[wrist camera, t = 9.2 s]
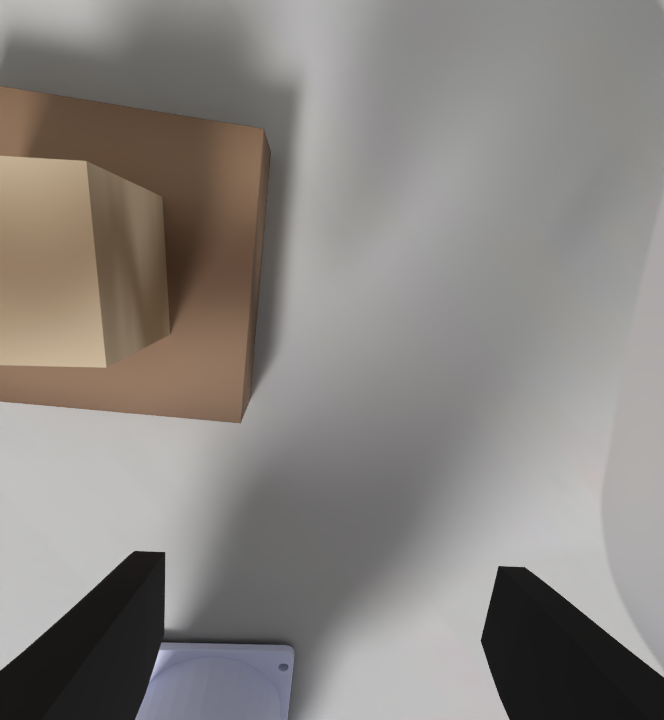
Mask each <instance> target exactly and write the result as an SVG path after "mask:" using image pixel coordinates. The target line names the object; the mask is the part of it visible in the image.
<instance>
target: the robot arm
mask: <svg viewBox="0 0 664 720" xmlns="http://www.w3.org/2000/svg"><path fill="white" fill-rule="evenodd" d="M164 609H165V552H144V551H134V552H133V553H132V554H130V555H129V556H128V557H127V558H126V559H125V560H124V561H123V562H121V563H120V564H119V565H118V566H117V567H116V568H115V569H114V570H113V571H112V572H111V573H110V574H109V575H108V576H106V577H105V578H104V579H103V580H102V581H101V582H100V583H99V584H98V585H97V586H96V587H95V588H94V589H93V590H91V591H90V592H89V593H88V594H87V595H86V596H85V597H84V598H83V599H82V600H81V601H80V602H78V603H77V604H76V605H75V606H74V607H73V608H72V609H71V610H70V611H69V612H67V613H66V614H65V615H64V616H63V617H62V618H61V619H60V620H58V621H57V622H56V623H55V624H54V625H53V626H52V627H51V628H49V629H48V630H47V631H46V632H45V633H44V634H43V635H42V636H40V637H39V638H38V639H37V640H36V641H35V642H34V643H33V644H31V645H30V646H29V647H28V648H27V649H26V650H24V651H23V652H22V653H21V654H20V655H19V656H17V657H16V658H15V659H14V660H13V661H11V662H10V663H9V664H8V665H7V666H5V667H4V668H3V669H2V670H1V671H0V720H288V711H289V702H290V693H291V683H292V674H293V665H294V650H293V648H292V647H290V646H288V645H258V644H211V643H164V642H162V639H163V636H164ZM481 643H482V646H483V649H484V652H485V655H486V658H487V661H488V665H489V668H490V671H491V674H492V676H493V679H494V682H495V685H496V688H497V691H498V694H499V696H500V699H501V701H502V703H503V706H504V708H505V710H506V713H507V715H508V717H509V719H510V720H664V677H662V676H661V675H660V674H659V673H657V672H656V671H655V670H653V669H652V668H651V667H650V666H648V665H647V664H646V663H644V662H643V661H642V660H641V659H639V658H638V657H637V656H636V655H634V654H633V653H632V652H630V651H629V650H628V649H627V648H625V647H624V646H623V645H622V644H620V643H619V642H618V641H617V640H615V639H614V638H613V637H612V636H610V635H609V634H608V633H607V632H605V631H604V630H603V629H602V628H601V627H599V626H598V625H597V624H596V623H594V622H593V621H592V620H591V619H589V618H588V617H587V616H586V615H585V614H583V613H582V612H581V611H580V610H578V609H577V608H576V607H575V606H573V605H572V604H571V603H570V602H569V601H567V600H566V599H565V598H564V597H562V596H561V595H560V594H559V593H557V592H556V591H555V590H554V589H552V588H551V587H550V586H549V585H547V584H546V583H545V582H544V581H542V580H541V579H540V578H538V577H537V576H536V575H534V574H533V573H532V572H530V571H529V570H528V569H526V568H525V567H504V566H499V567H498V571H497V576H496V580H495V584H494V588H493V592H492V596H491V600H490V605H489V609H488V613H487V617H486V621H485V625H484V630H483V634H482V638H481ZM283 663H285V664H283Z"/></svg>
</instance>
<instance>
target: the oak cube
mask: <svg viewBox="0 0 664 720" xmlns="http://www.w3.org/2000/svg"><path fill="white" fill-rule="evenodd" d="M168 335H170V322H169V304H168V286H167V269H166V251H165V233H164V215H163V197H162V196H160V195H158V194H156V193H154V192H151V191H149V190H147V189H145V188H143V187H141V186H139V185H136V184H134V183H132V182H130V181H128V180H126V179H124V178H122V177H119V176H117V175H115V174H113V173H111V172H109V171H107V170H104V169H102V168H100V167H98V166H96V165H94V164H92V163H90V162H87V161H79V160H62V159H45V158H29V157H12V156H0V365H14V366H56V367H99V368H107V367H109V366H111V365H112V364H114V363H116V362H118V361H120V360H122V359H124V358H126V357H128V356H130V355H132V354H134V353H136V352H138V351H139V350H141V349H143V348H145V347H147V346H149V345H151V344H153V343H155V342H157V341H159V340H161V339H163V338H164V337H166V336H168Z"/></svg>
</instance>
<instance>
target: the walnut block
mask: <svg viewBox="0 0 664 720" xmlns="http://www.w3.org/2000/svg"><path fill="white" fill-rule="evenodd" d="M270 152H271V151H270V148H269V145H268V141H267V138H266V135H265V131H264V129H262V128H256V127H249V126H243V125H237V124H231V123H225V122H218V121H212V120H206V119H200V118H194V117H188V116H181V115H175V114H169V113H163V112H157V111H151V110H144V109H138V108H132V107H126V106H120V105H113V104H107V103H101V102H95V101H89V100H83V99H76V98H70V97H64V96H58V95H52V94H45V93H39V92H33V91H27V90H21V89H15V88H8V87H2V86H0V156H12V157H29V158H45V159H62V160H79V161H87V162H90V163H92V164H94V165H96V166H98V167H100V168H102V169H104V170H107V171H109V172H111V173H113V174H115V175H117V176H119V177H122V178H124V179H126V180H128V181H130V182H132V183H134V184H136V185H139V186H141V187H143V188H145V189H147V190H149V191H151V192H154V193H156V194H158V195H160V196H162V197H163V215H164V233H165V251H166V269H167V286H168V304H169V322H170V335H168V336H166V337H164V338H163V339H161V340H159V341H157V342H155V343H153V344H151V345H149V346H147V347H145V348H143V349H141V350H139V351H138V352H136V353H134V354H132V355H130V356H128V357H126V358H124V359H122V360H120V361H118V362H116V363H114V364H112V365H111V366H109V367H107V368H99V367H56V366H14V365H0V401H1V402H12V403H23V404H34V405H45V406H56V407H67V408H78V409H90V410H101V411H112V412H123V413H134V414H145V415H156V416H167V417H178V418H189V419H200V420H211V421H222V422H233V423H241V421H242V418H243V416H244V413H245V411H246V409H247V406H248V404H249V401H250V392H251V380H252V368H253V356H254V344H255V332H256V320H257V308H258V296H259V284H260V272H261V260H262V248H263V236H264V224H265V212H266V200H267V188H268V176H269V164H270Z"/></svg>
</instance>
